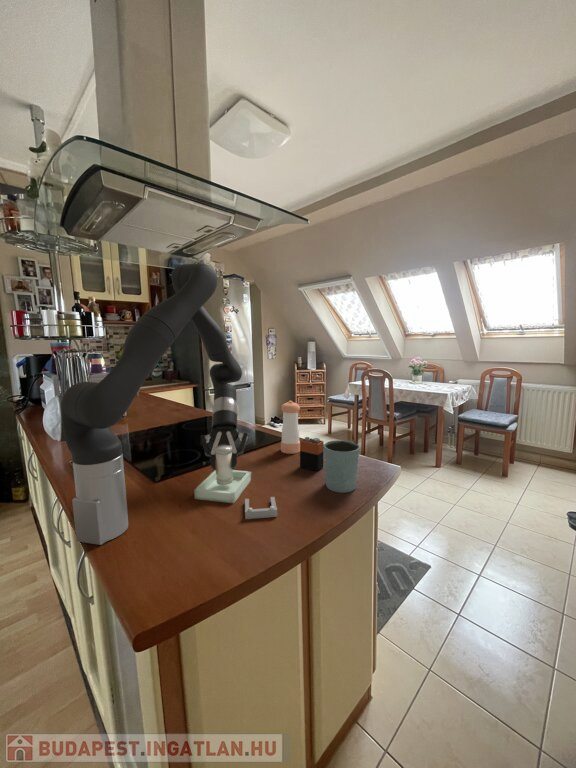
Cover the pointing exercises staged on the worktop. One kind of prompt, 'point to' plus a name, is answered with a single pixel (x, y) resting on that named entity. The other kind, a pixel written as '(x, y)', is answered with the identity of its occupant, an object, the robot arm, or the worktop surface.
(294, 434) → the salt shaker
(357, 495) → the worktop surface
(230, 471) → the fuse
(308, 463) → the battery
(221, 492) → the tray
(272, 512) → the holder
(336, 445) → the teal cup
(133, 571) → the worktop surface
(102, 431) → the robot arm
